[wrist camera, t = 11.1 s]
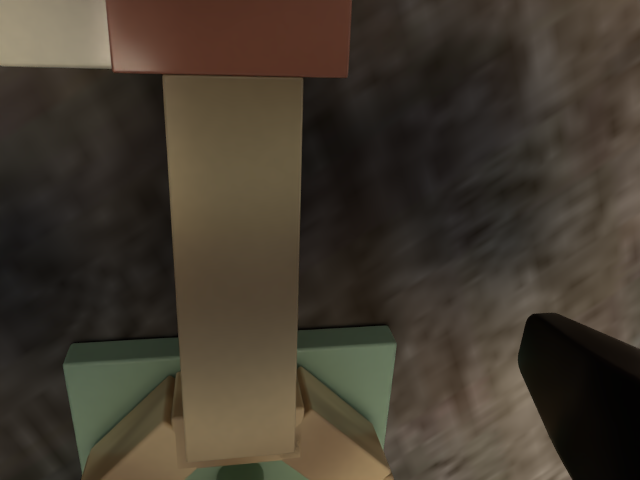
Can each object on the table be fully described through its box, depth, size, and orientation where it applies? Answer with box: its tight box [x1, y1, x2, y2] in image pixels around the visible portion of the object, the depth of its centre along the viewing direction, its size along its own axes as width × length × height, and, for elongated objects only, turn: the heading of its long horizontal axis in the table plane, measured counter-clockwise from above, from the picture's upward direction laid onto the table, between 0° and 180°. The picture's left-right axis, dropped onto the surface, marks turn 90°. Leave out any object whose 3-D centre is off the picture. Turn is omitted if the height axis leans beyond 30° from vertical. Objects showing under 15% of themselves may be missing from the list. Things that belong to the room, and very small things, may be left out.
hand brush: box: [0, 0, 394, 480], centre depth 13 cm, size 22×8×3 cm, turn 177°
